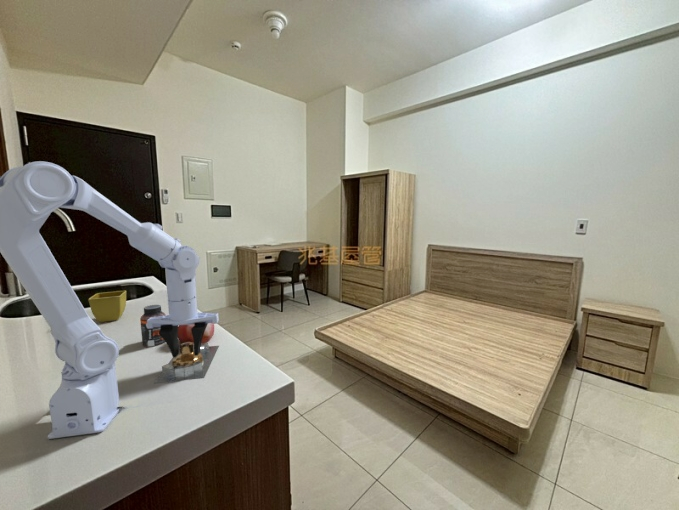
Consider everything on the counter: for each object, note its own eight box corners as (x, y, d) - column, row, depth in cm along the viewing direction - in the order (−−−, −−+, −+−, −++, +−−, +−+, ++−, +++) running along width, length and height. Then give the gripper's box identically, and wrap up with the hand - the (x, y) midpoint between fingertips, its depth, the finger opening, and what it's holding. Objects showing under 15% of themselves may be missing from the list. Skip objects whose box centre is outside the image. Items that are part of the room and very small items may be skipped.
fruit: (180, 339, 85) (177, 306, 83) (215, 334, 88) (213, 303, 87) (175, 353, 76) (172, 317, 75) (214, 347, 79) (212, 312, 78)
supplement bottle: (156, 351, 77) (152, 310, 76) (137, 349, 78) (133, 309, 77) (172, 341, 83) (169, 304, 82) (155, 340, 84) (151, 302, 83)
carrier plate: (204, 382, 63) (204, 376, 63) (153, 387, 61) (153, 381, 61) (219, 349, 79) (219, 344, 78) (179, 352, 77) (179, 347, 76)
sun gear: (205, 356, 72) (205, 347, 72) (179, 359, 71) (178, 349, 71) (211, 346, 78) (210, 337, 78) (187, 348, 77) (186, 339, 76)
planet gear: (200, 368, 66) (199, 347, 65) (170, 373, 64) (168, 352, 63) (204, 356, 72) (202, 337, 71) (176, 360, 70) (174, 340, 69)
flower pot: (99, 317, 103) (96, 292, 102) (129, 313, 107) (126, 290, 106) (90, 325, 95) (87, 299, 94) (123, 321, 99) (120, 296, 98)
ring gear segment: (200, 376, 63) (199, 366, 63) (159, 381, 62) (158, 370, 61) (203, 370, 66) (203, 360, 66) (164, 374, 64) (163, 364, 64)
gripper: (219, 291, 71) (223, 344, 72) (154, 294, 68) (159, 349, 70) (213, 299, 64) (217, 357, 66) (140, 303, 61) (146, 364, 63)
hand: (186, 354), depth 67 cm, fingers open, 4 cm apart
